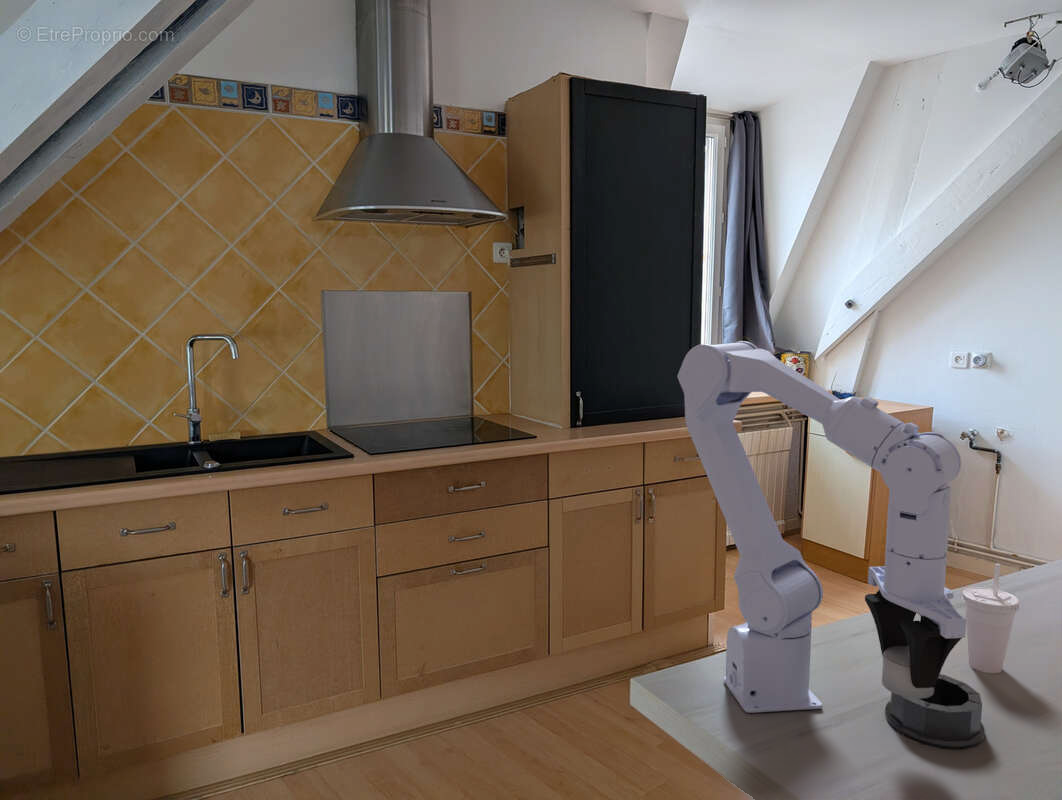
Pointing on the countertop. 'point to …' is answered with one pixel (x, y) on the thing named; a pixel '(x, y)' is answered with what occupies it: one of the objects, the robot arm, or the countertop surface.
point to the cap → (900, 674)
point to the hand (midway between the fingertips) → (908, 673)
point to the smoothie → (988, 624)
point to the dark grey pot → (940, 716)
